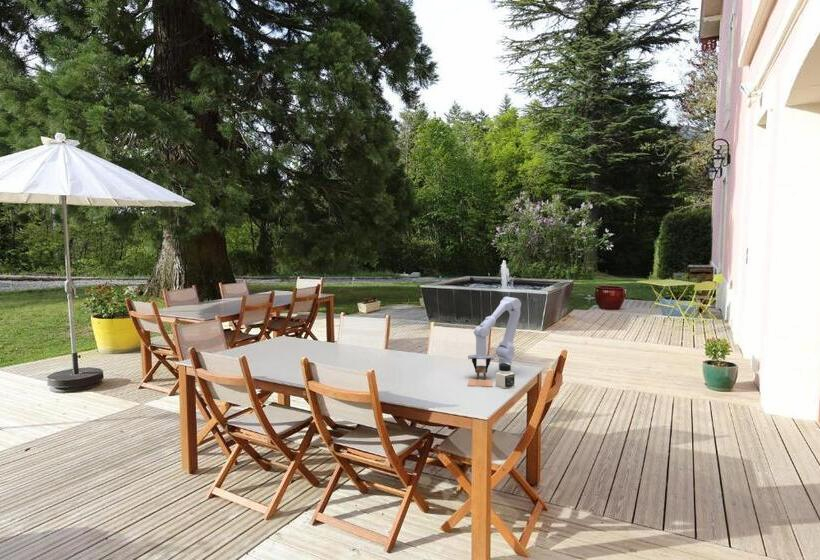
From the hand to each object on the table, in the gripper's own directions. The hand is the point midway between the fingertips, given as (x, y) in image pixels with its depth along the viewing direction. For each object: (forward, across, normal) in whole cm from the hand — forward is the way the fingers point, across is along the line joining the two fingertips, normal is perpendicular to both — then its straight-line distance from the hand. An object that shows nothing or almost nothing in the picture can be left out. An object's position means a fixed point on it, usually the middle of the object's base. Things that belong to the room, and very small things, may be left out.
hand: (481, 372), depth 293 cm
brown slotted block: (+3, 0, 0) cm, 3 cm away
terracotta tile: (+3, 0, -11) cm, 12 cm away
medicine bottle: (+4, +13, -14) cm, 19 cm away
